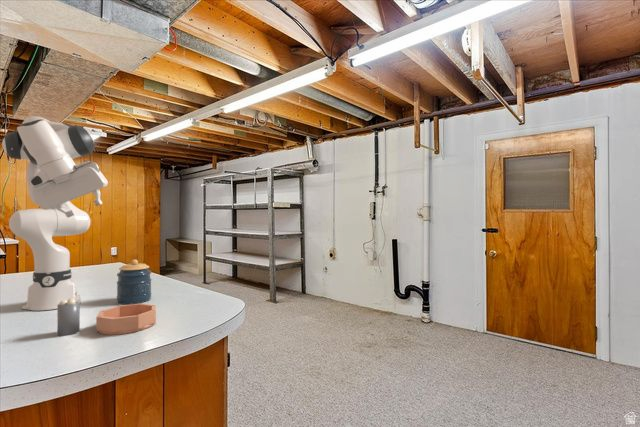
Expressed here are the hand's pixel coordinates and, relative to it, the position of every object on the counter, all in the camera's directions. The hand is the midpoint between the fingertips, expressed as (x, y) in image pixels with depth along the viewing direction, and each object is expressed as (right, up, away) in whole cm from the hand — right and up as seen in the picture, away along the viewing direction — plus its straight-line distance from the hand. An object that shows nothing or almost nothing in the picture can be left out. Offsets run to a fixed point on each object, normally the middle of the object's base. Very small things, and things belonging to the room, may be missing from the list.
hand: (85, 210), depth 107 cm
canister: (-3, -38, +34) cm, 51 cm away
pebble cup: (-2, -38, -5) cm, 38 cm away
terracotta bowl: (+13, -38, +2) cm, 40 cm away
